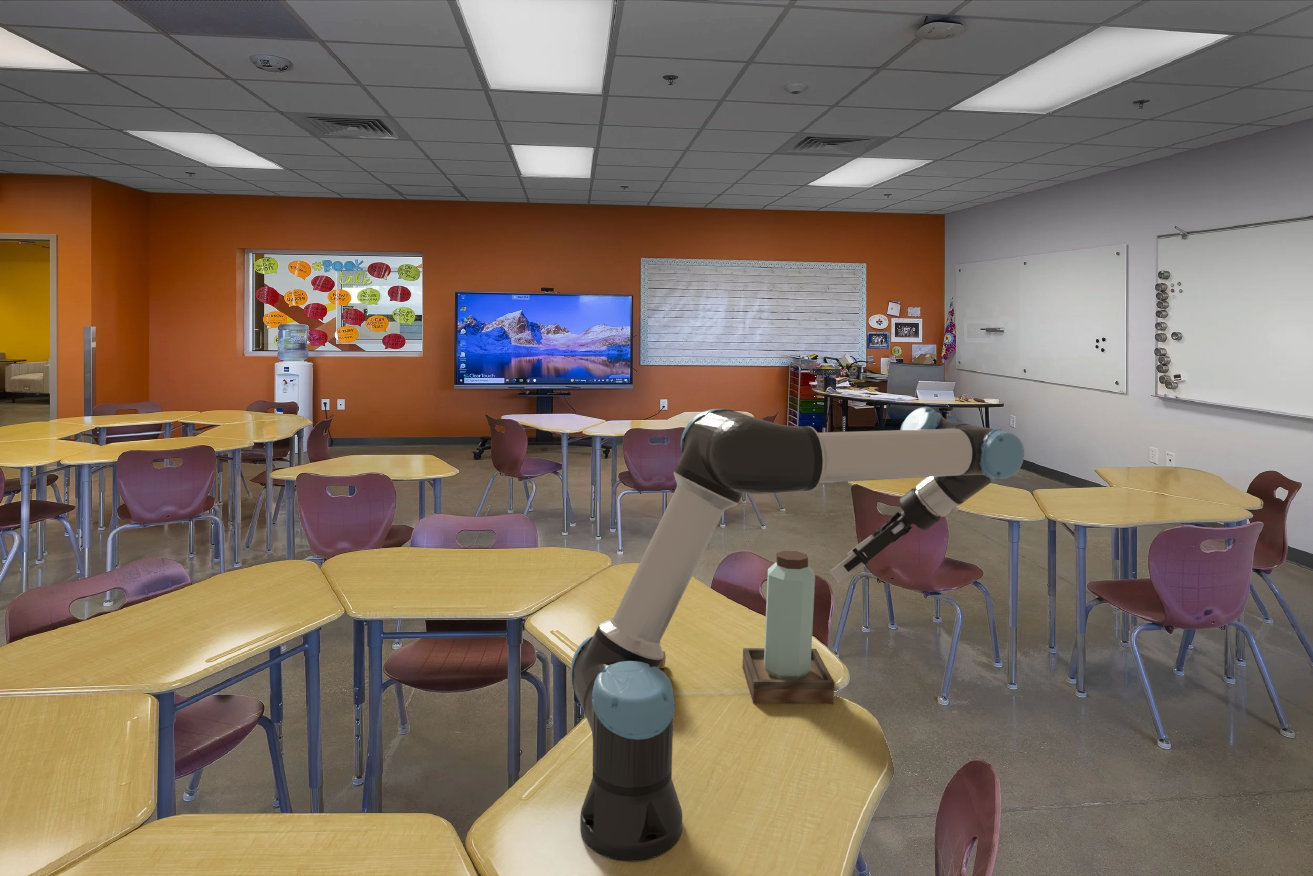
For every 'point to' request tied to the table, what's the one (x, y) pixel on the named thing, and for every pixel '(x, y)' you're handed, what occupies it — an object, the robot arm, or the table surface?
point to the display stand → (787, 681)
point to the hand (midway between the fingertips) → (843, 567)
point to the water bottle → (789, 616)
